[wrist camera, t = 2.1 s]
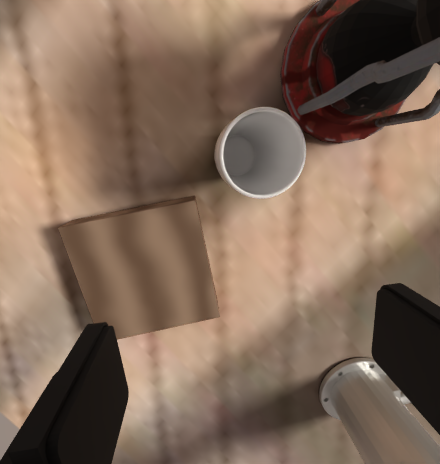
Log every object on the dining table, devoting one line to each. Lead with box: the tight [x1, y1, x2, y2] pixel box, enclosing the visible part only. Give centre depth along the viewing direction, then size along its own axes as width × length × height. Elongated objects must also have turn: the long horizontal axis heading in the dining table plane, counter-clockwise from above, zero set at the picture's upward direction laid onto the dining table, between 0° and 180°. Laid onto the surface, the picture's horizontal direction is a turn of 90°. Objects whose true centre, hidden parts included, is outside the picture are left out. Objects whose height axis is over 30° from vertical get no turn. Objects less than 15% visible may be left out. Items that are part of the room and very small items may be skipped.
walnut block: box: [58, 196, 220, 339], centre depth 35 cm, size 16×16×4 cm
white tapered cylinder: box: [214, 107, 306, 199], centre depth 27 cm, size 7×7×15 cm
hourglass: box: [280, 0, 440, 143], centre depth 21 cm, size 16×16×25 cm
